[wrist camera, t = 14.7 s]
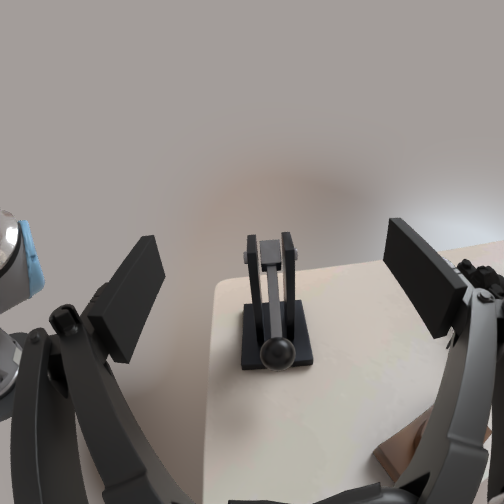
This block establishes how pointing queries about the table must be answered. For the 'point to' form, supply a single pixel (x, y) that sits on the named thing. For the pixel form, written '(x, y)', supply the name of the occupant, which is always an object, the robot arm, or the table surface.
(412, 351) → the table surface
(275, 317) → the switch lever
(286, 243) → the black lever stand
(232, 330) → the table surface
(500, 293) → the film camera
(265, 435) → the table surface
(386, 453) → the brown button base
